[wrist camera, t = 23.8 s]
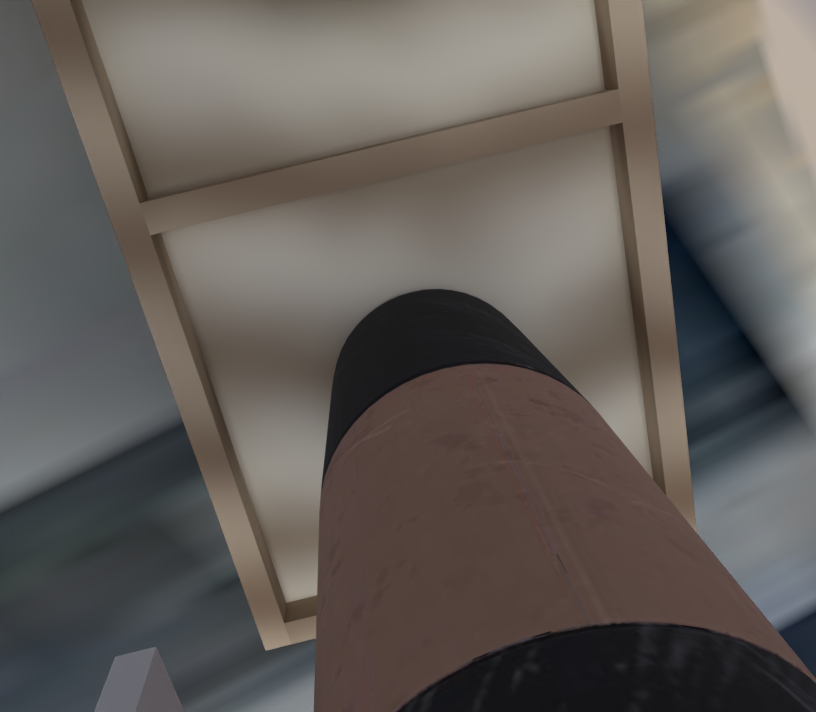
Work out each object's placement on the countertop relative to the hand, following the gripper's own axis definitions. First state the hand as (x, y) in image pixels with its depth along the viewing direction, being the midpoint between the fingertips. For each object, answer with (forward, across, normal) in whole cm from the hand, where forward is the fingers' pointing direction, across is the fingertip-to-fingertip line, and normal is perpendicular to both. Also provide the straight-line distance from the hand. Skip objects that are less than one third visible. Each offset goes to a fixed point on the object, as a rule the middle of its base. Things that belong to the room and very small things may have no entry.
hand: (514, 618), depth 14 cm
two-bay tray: (+14, 0, +7) cm, 16 cm away
